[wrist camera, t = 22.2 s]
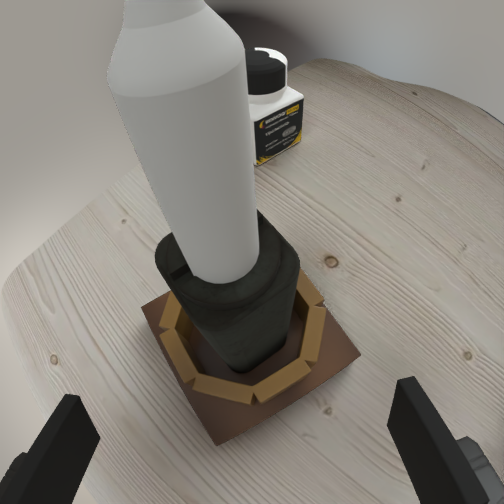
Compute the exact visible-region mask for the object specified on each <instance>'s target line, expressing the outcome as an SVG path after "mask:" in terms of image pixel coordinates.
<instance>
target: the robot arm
mask: <svg viewBox="0 0 504 504" xmlns="http://www.w3.org/2000/svg"><path fill="white" fill-rule="evenodd" d="M387 427H388V429H389V431H390V434H391V436H392V438H393V440H394V443H395V445H396V447H397V449H398V452H399V454H400V456H401V458H402V461H403V463H404V465H405V468H406V470H407V472H408V475H409V477H410V479H411V482H412V484H413V486H414V489H415V491H416V494H417V496H418V498H419V501H420V503H421V504H504V485H503V483H502V481H501V480H500V478H499V477H498V475H497V473H496V472H495V470H494V468H493V467H492V465H491V464H490V463H489V460H488V459H487V457H486V456H485V455H484V453H483V451H482V450H481V448H480V447H479V445H478V443H476V442H475V441H473V440H472V439H471V438H469V437H468V436H466V437H464V438H461V439H459V440H455V439H454V437H453V435H452V434H451V432H450V430H449V429H448V427H447V426H446V424H445V423H444V421H443V419H442V418H441V416H440V415H439V413H438V412H437V410H436V408H435V407H434V405H433V404H432V402H431V401H430V399H429V398H428V396H427V395H426V393H425V392H424V390H423V389H422V387H421V386H420V384H419V383H418V381H417V380H416V378H415V377H414V376H412V377H408V378H403V379H399V380H397V385H396V389H395V394H394V398H393V403H392V407H391V411H390V415H389V419H388V423H387ZM99 440H100V436H99V434H98V432H97V430H96V428H95V426H94V425H93V423H92V421H91V419H90V417H89V415H88V413H87V411H86V409H85V407H84V405H83V403H82V401H81V398H80V396H78V395H70V394H65V395H64V397H63V398H62V400H61V401H60V403H59V404H58V406H57V407H56V409H55V410H54V412H53V413H52V415H51V416H50V418H49V419H48V421H47V423H46V424H45V426H44V427H43V429H42V430H41V432H40V434H39V435H38V437H37V438H36V440H35V441H34V443H33V445H32V446H31V448H30V449H29V451H28V453H24V452H22V453H21V454H20V455H19V456H17V457H16V458H15V459H14V461H13V462H12V464H11V465H10V467H9V469H8V470H7V472H6V474H5V476H4V477H3V479H2V480H1V482H0V504H72V502H73V500H74V497H75V495H76V492H77V490H78V488H79V485H80V483H81V481H82V478H83V476H84V474H85V472H86V469H87V467H88V465H89V463H90V460H91V458H92V456H93V454H94V451H95V449H96V447H97V445H98V443H99Z"/></svg>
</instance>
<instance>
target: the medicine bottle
mask: <svg viewBox="0 0 504 504" xmlns="http://www.w3.org/2000/svg"><path fill="white" fill-rule="evenodd" d="M245 60H246V73H247V86H248V99H249V112H250V125H251V138H252V152H253V164H255V165H256V166H259V165H261V164H263V163H264V162H266V161H267V160H269V159H271V158H272V157H274V156H276V155H278V154H279V153H281V152H283V151H284V150H286V149H288V148H289V147H291V146H293V145H295V144H296V143H298V142H300V141H301V131H302V117H303V101H304V96H303V95H302V94H301V93H299V92H297V91H295V90H294V89H292V88H290V87H288V86H287V59H286V58H285V57H284V55H282V54H281V53H279V52H278V51H275V50H272V49H267V48H251V49H246V50H245Z"/></svg>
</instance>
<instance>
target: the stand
mask: <svg viewBox="0 0 504 504" xmlns="http://www.w3.org/2000/svg"><path fill="white" fill-rule="evenodd" d="M323 301H324V298H323V296H322V295H321V294H320V292H319V291H318V290H317V288H316V287H315V286H314V285H313V283H312V282H311V281H310V279H309V278H308V277H307V275H306V274H305V273H304V271H303V270H302V269H301V267H300V271H299V276H298V282H297V287H296V292H295V298H294V303H293V308H292V313H291V318H290V323H289V328H288V333H287V338H286V342H285V345H284V346H283V347H282V348H281V349H280V350H279V351H278V352H276V353H275V354H274V355H272V356H271V357H269V358H268V359H267V360H265V361H264V362H263V363H261V364H260V365H258V366H257V367H256V368H254V369H253V370H251V371H249V372H247V373H236V372H234V371H233V370H231V369H230V368H229V367H228V365H227V364H226V363H225V362H224V361H223V359H222V358H221V357H220V356H219V355H218V353H217V352H216V351H215V350H214V349H213V347H212V346H211V345H210V344H209V342H208V341H207V340H206V339H205V337H204V336H203V335H202V334H201V332H200V331H199V330H198V329H197V327H196V326H195V325H194V324H193V322H192V321H191V320H190V318H189V317H188V315H187V314H186V312H185V311H184V309H183V308H182V306H181V305H180V303H179V302H178V300H177V299H176V297H175V295H174V294H173V292H172V291H169V292H167V293H165V294H163V295H162V296H160V297H158V298H156V299H155V300H153V301H151V302H149V303H148V304H146V305H144V306H142V307H141V308H142V311H143V313H144V315H145V317H146V319H147V321H148V324H149V326H150V328H151V330H152V332H153V334H154V336H155V338H156V340H157V342H158V344H159V346H160V348H161V350H162V352H163V354H164V356H165V358H166V360H167V362H168V364H169V366H170V368H171V370H172V371H173V373H174V375H175V377H176V379H177V381H178V383H179V384H180V386H181V388H182V390H183V392H184V393H185V395H186V397H187V399H188V401H189V402H190V404H191V406H192V407H193V409H194V411H195V413H196V414H197V416H198V418H199V419H200V421H201V423H202V424H203V426H204V428H205V429H206V431H207V433H208V434H209V436H210V437H211V439H212V441H213V442H214V444H215V445H216V446H218V445H220V444H222V443H224V442H226V441H228V440H230V439H232V438H233V437H235V436H237V435H239V434H241V433H243V432H244V431H246V430H248V429H250V428H252V427H253V426H255V425H257V424H259V423H260V422H262V421H264V420H265V419H267V418H269V417H271V416H272V415H274V414H276V413H277V412H279V411H280V410H282V409H284V408H285V407H287V406H289V405H290V404H292V403H293V402H295V401H296V400H298V399H300V398H301V397H303V396H304V395H306V394H307V393H309V392H310V391H312V390H313V389H315V388H316V387H318V386H319V385H321V384H322V383H324V382H325V381H326V380H328V379H329V378H331V377H332V376H334V375H335V374H336V373H338V372H339V371H341V370H342V369H343V368H345V367H346V366H347V365H349V364H350V363H351V362H353V361H354V360H356V359H357V358H358V357H360V356H361V354H360V352H359V351H358V350H357V348H356V347H355V346H354V344H353V343H352V342H351V340H350V339H349V337H348V336H347V335H346V333H345V332H344V331H343V329H342V328H341V327H340V325H339V324H338V323H337V321H336V320H335V318H334V317H333V316H332V314H331V313H330V312H329V310H328V309H327V308H326V306H325V305H324V304H323Z"/></svg>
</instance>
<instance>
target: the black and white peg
mask: <svg viewBox="0 0 504 504" xmlns="http://www.w3.org/2000/svg"><path fill="white" fill-rule="evenodd" d="M107 81H108V85H109V88H110V90H111V93H112V95H113V98H114V100H115V103H116V106H117V108H118V111H119V113H120V116H121V118H122V120H123V122H124V125H125V128H126V130H127V133H128V135H129V137H130V140H131V142H132V144H133V147H134V149H135V151H136V154H137V156H138V158H139V161H140V163H141V165H142V168H143V170H144V172H145V174H146V177H147V179H148V181H149V183H150V185H151V188H152V190H153V192H154V194H155V196H156V199H157V201H158V203H159V205H160V207H161V209H162V212H163V214H164V216H165V218H166V220H167V222H168V224H169V226H170V229H171V231H172V232H171V233H169V234H168V235H167V236H165V237H164V238H163V239H162V240H161V242H160V243H159V244H158V246H157V248H156V252H155V263H156V266H157V268H158V270H159V271H160V273H161V275H162V276H163V278H164V280H165V281H166V283H167V284H168V286H169V288H170V289H171V291H172V292H173V294H174V295H175V297H176V299H177V300H178V302H179V303H180V305H181V306H182V308H183V309H184V311H185V312H186V314H187V315H188V317H189V318H190V320H191V321H192V322H193V324H194V325H195V326H196V327H197V329H198V330H199V331H200V332H201V334H202V335H203V336H204V337H205V339H206V340H207V341H208V342H209V344H210V345H211V346H212V347H213V349H214V350H215V351H216V352H217V353H218V355H219V356H220V357H221V358H222V359H223V361H224V362H225V363H226V364H227V365H228V367H229V368H230V369H231V370H233V371H234V372H236V373H247V372H249V371H251V370H253V369H254V368H256V367H257V366H258V365H260V364H261V363H263V362H264V361H265V360H267V359H268V358H269V357H271V356H272V355H274V354H275V353H276V352H278V351H279V350H280V349H281V348H282V347H283V346H284V345H285V342H286V338H287V333H288V328H289V323H290V318H291V313H292V308H293V303H294V298H295V292H296V287H297V282H298V276H299V271H300V260H299V257H298V254H297V253H296V251H295V250H294V248H293V247H292V246H291V245H290V244H289V243H288V242H287V241H286V240H285V238H284V237H283V236H282V235H281V234H280V233H279V232H278V231H277V230H276V229H275V228H274V226H273V225H272V224H271V223H270V222H269V221H268V220H267V219H266V218H265V217H264V216H263V214H261V213H260V212H259V211H258V210H257V207H256V193H255V179H254V165H253V152H252V138H251V125H250V112H249V99H248V86H247V73H246V60H245V49H244V46H243V44H242V41H241V40H240V38H239V37H238V35H237V34H236V33H235V32H234V31H233V30H232V28H231V27H230V26H229V25H228V24H227V23H226V22H225V21H224V20H223V19H222V18H220V17H219V16H218V15H217V14H216V13H215V12H214V11H213V10H212V9H211V8H210V7H209V6H208V5H207V4H206V3H205V2H204V0H125V6H124V18H123V27H122V29H121V32H120V35H119V37H118V40H117V43H116V46H115V48H114V51H113V54H112V57H111V61H110V64H109V68H108V72H107Z"/></svg>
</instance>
